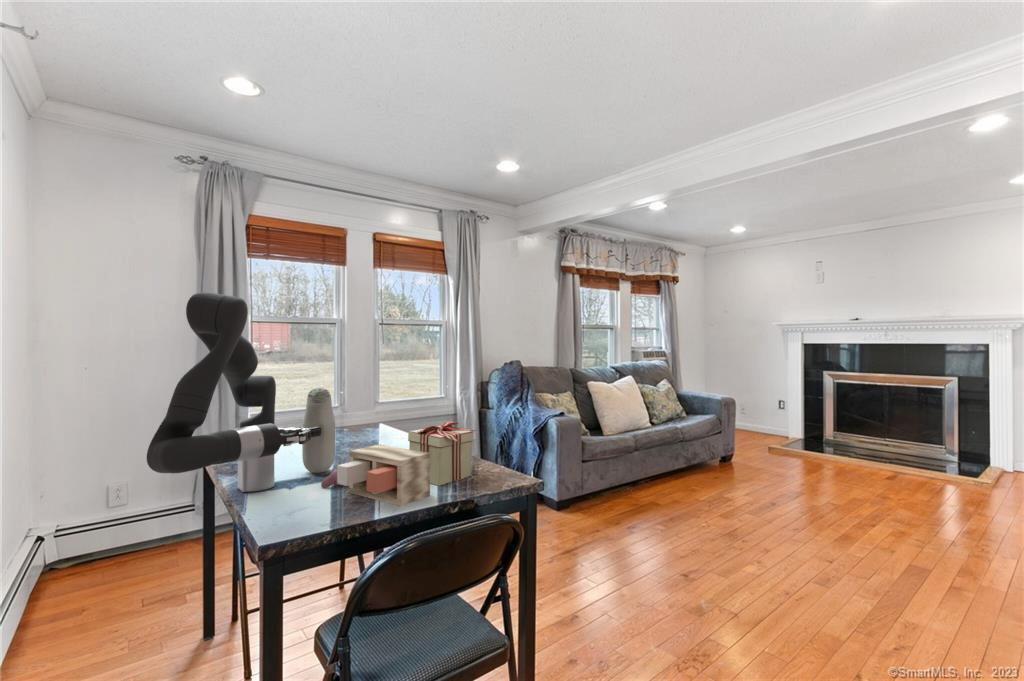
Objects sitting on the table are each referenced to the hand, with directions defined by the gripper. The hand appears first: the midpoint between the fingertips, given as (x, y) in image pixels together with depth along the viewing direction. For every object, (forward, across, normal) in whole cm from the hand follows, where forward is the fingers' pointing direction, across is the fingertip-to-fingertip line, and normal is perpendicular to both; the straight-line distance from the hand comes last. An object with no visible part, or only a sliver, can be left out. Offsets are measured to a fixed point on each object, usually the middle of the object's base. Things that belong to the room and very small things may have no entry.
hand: (319, 431), depth 127 cm
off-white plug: (+11, 0, +16) cm, 19 cm away
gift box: (+40, -8, +20) cm, 46 cm away
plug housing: (+18, -6, +20) cm, 28 cm away
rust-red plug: (+11, -12, +16) cm, 23 cm away
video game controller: (+17, +15, +20) cm, 30 cm away
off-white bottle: (+22, +32, +20) cm, 43 cm away
